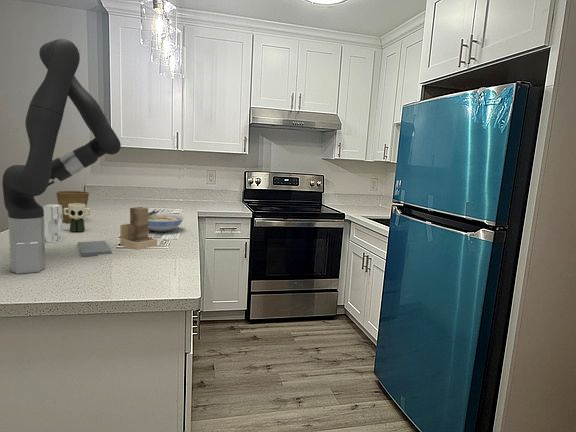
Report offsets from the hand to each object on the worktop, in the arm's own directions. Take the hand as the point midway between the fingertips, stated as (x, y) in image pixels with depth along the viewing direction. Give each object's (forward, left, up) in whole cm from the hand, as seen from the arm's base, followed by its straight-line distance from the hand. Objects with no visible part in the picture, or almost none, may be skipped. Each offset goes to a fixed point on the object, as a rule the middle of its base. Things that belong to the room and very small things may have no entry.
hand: (21, 189), depth 128 cm
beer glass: (+25, -10, -24) cm, 36 cm away
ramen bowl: (+35, -57, -24) cm, 71 cm away
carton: (+4, -40, -24) cm, 47 cm away
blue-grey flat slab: (+4, -23, -24) cm, 33 cm away
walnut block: (+5, -40, -24) cm, 46 cm away
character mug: (+42, -20, -24) cm, 52 cm away
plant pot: (+67, -20, -24) cm, 74 cm away
